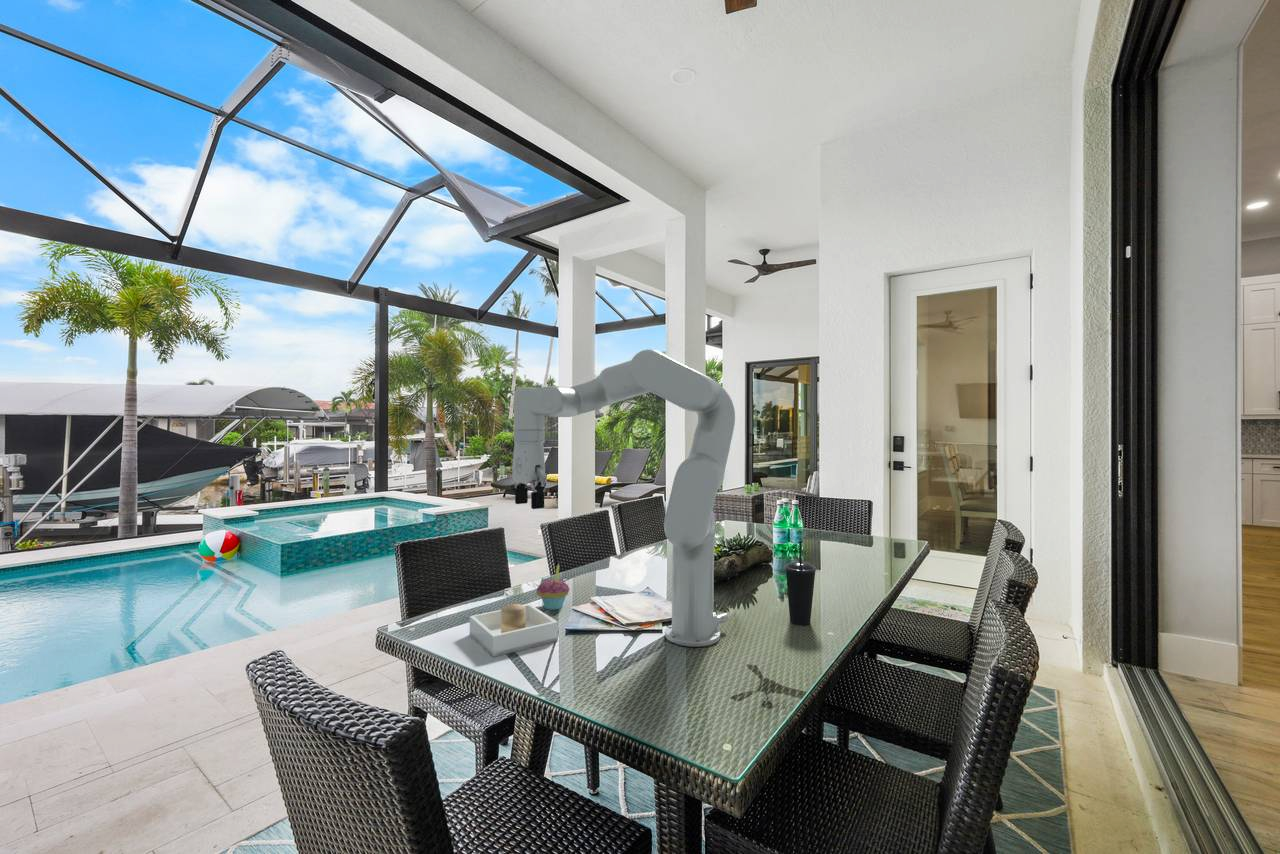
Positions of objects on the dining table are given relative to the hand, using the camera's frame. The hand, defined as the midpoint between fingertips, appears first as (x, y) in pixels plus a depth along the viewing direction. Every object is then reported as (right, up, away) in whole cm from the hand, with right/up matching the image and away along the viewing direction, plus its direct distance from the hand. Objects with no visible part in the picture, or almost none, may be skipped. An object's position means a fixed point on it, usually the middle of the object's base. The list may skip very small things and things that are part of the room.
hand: (529, 505), depth 139 cm
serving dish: (-1, -28, -12) cm, 31 cm away
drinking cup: (+67, -29, -1) cm, 73 cm away
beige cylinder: (-1, -28, -12) cm, 30 cm away
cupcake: (+4, -28, +10) cm, 30 cm away
